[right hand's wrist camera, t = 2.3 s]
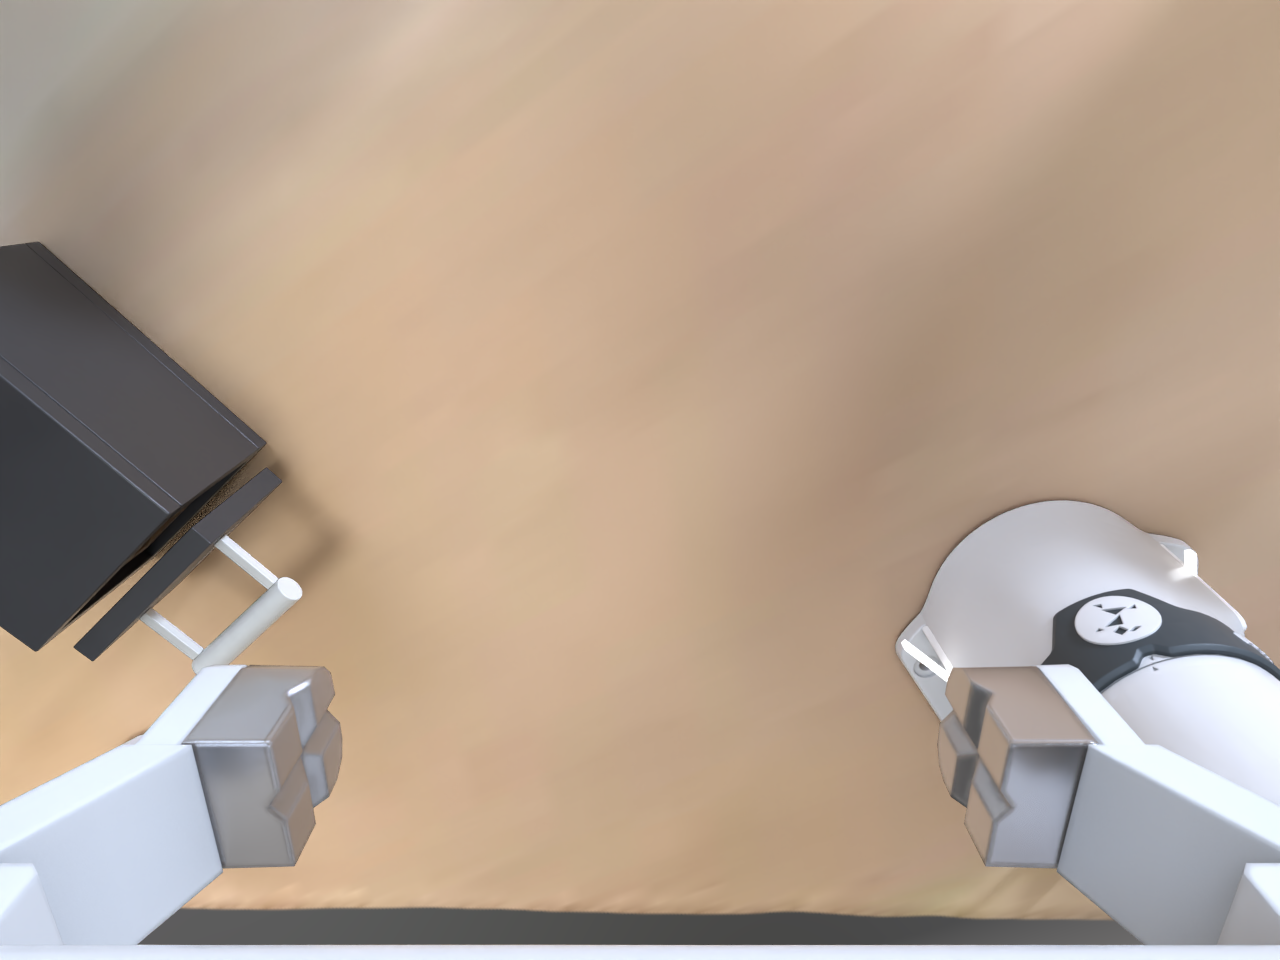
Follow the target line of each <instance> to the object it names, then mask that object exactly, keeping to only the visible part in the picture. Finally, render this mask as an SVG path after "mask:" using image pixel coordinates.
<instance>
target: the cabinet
mask: <svg viewBox="0 0 1280 960" xmlns="http://www.w3.org/2000/svg"><path fill="white" fill-rule="evenodd" d="M265 444H266V442H265V441H264V440H263V439H262V438H260V437H259V436H258V435H257V434H256V433H255V432H254V431H252V430H251V429H250V428H249V427H248V426H247V425H246V424H245V423H243V422H242V421H241V420H240V419H239V418H238V417H237V416H235V415H234V414H233V413H232V412H231V411H230V410H229V409H228V408H226V407H225V406H224V405H223V404H222V403H221V402H220V401H218V400H217V399H216V398H215V397H214V396H213V395H212V394H211V393H209V392H208V391H207V390H206V389H205V388H204V387H203V386H201V385H200V384H199V383H198V382H197V381H196V380H195V379H194V378H192V377H191V376H190V375H189V374H188V373H187V372H186V371H184V370H183V369H182V368H181V367H180V366H179V365H178V364H177V363H175V362H174V361H173V360H172V359H171V358H170V357H169V356H167V355H166V354H165V353H164V352H163V351H162V350H161V349H160V348H158V347H157V346H156V345H155V344H154V343H153V342H152V341H150V340H149V339H148V338H147V337H146V336H145V335H144V334H143V333H141V332H140V331H139V330H138V329H137V328H136V327H135V326H133V325H132V324H131V323H130V322H129V321H128V320H127V319H126V318H124V317H123V316H122V315H121V314H120V313H119V312H118V311H116V310H115V309H114V308H113V307H112V306H111V305H110V304H109V303H107V302H106V301H105V300H104V299H103V298H102V297H101V296H99V295H98V294H97V293H96V292H95V291H94V290H93V289H92V288H90V287H89V286H88V285H87V284H86V283H85V282H84V281H82V280H81V279H80V278H79V277H78V276H77V275H76V274H75V273H73V272H72V271H71V270H70V269H69V268H68V267H67V266H65V265H64V264H63V263H62V262H61V261H60V260H59V259H58V258H56V257H55V256H54V255H53V254H52V253H51V252H50V251H48V250H47V249H46V248H45V247H44V246H43V245H42V244H41V243H39V242H33V243H25V244H17V245H9V246H1V247H0V627H2V628H3V629H5V630H6V631H7V632H9V633H10V634H12V635H13V636H14V637H16V638H17V639H18V640H20V641H21V642H23V643H24V644H25V645H27V646H28V647H29V648H31V649H32V650H34V651H38V650H40V649H41V648H42V647H43V646H45V645H46V644H47V643H48V642H50V641H51V640H52V639H53V638H55V637H56V636H57V635H58V634H60V633H61V632H62V631H63V630H65V629H66V628H67V627H68V626H70V625H71V624H72V623H73V622H75V621H76V620H77V619H78V618H79V617H81V616H82V615H83V614H84V613H86V612H87V611H88V610H89V609H91V608H92V607H93V606H94V605H96V604H97V603H98V602H99V601H101V600H102V599H103V598H104V597H106V596H107V595H108V594H109V593H111V592H112V591H113V590H114V589H116V588H117V587H118V586H119V585H121V584H122V583H123V582H124V581H126V580H127V579H128V578H129V577H131V576H132V575H133V574H134V573H135V572H137V571H138V570H139V569H140V568H142V567H143V566H144V565H145V564H147V563H148V562H149V561H150V560H152V559H153V558H154V557H155V556H156V555H157V554H158V553H159V552H160V551H161V550H162V549H163V548H164V547H165V546H166V545H167V544H168V543H169V542H170V541H171V540H172V539H173V538H174V537H175V536H176V535H177V534H178V533H179V532H180V531H181V530H182V529H183V528H184V527H185V526H186V525H187V524H188V522H189V521H190V520H191V519H192V518H193V517H194V516H195V515H196V514H197V513H198V512H199V511H200V510H201V509H202V508H203V507H204V506H205V505H206V504H207V503H208V502H209V501H210V500H211V499H212V498H213V497H214V496H215V495H216V494H217V493H218V492H219V491H220V490H221V489H222V488H223V487H224V486H225V485H226V484H227V483H228V482H229V481H230V480H231V479H232V478H233V477H234V476H235V475H236V474H237V473H238V472H239V471H240V470H241V469H242V468H243V467H244V466H245V465H246V464H247V463H248V462H249V461H250V460H251V459H252V458H253V457H254V456H255V455H256V454H257V453H258V452H259V450H260V449H261V448H262V447H263V446H264V445H265ZM188 504H189V505H188ZM187 505H188V506H187ZM186 506H187V508H186V509H185V510H184V511H183V512H182V513H181V514H180V515H179V516H178V517H177V518H176V519H175V520H174V521H173V522H172V523H171V524H170V525H169V526H168V527H167V528H166V529H165V530H164V531H163V532H162V533H161V534H160V535H159V536H158V537H157V538H156V539H155V540H154V541H153V542H152V543H151V544H150V545H149V546H148V547H147V548H146V549H145V550H144V551H142V552H141V553H140V554H138V555H137V556H136V557H134V558H133V559H132V560H131V561H129V562H128V560H129V559H130V558H131V557H132V556H133V555H134V554H135V553H136V552H137V551H138V550H139V549H140V548H141V547H142V546H143V545H144V544H145V543H146V542H147V541H148V540H149V539H150V538H151V537H152V536H153V535H154V534H155V533H156V532H157V531H158V530H159V529H160V528H161V527H162V526H163V525H164V524H165V523H166V521H167V520H168V519H169V518H171V517H172V516H174V515H175V514H176V513H178V512H179V511H180V510H182V509H183V508H184V507H186ZM127 562H128V563H127ZM126 563H127V564H126Z"/></svg>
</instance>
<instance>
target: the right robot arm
mask: <svg viewBox="0 0 1280 960" xmlns="http://www.w3.org/2000/svg"><path fill="white" fill-rule="evenodd" d="M1246 629H1247V625H1246V623H1245V621H1244V619H1243V617H1242V616H1241V615H1240V614H1239V613H1238V612H1237V611H1236V610H1235V609H1234V608H1233V607H1232V606H1231V605H1229V604H1228V603H1227V602H1226V601H1225V600H1224V599H1223V598H1222V597H1221V596H1220V595H1219V594H1217V593H1216V592H1215V591H1214V590H1213V589H1212V588H1211V587H1210V586H1209V585H1208V584H1207V583H1205V582H1204V581H1203V580H1202V579H1201V578H1200V577H1199V576H1198V556H1197V554H1196V552H1195V551H1194V550H1193V549H1192V548H1191V547H1190V546H1189V545H1187V544H1186V543H1185V542H1184V541H1182V540H1179V539H1176V538H1172V537H1168V536H1163V535H1157V534H1150V533H1146V532H1144V531H1142V530H1140V529H1138V528H1137V527H1135V526H1134V525H1132V524H1131V523H1129V522H1128V521H1127V520H1125V519H1124V518H1122V517H1121V516H1119V515H1118V514H1116V513H1114V512H1112V511H1110V510H1108V509H1105V508H1103V507H1100V506H1097V505H1094V504H1090V503H1085V502H1079V501H1069V500H1056V501H1045V502H1038V503H1033V504H1029V505H1025V506H1021V507H1018V508H1015V509H1013V510H1010V511H1008V512H1005V513H1003V514H1001V515H999V516H997V517H995V518H993V519H991V520H989V521H988V522H986V523H984V524H983V525H981V526H980V527H978V528H977V529H976V530H974V531H973V532H972V533H970V534H969V535H968V536H967V537H966V538H965V539H964V540H962V541H961V542H960V543H959V544H958V545H957V546H956V548H955V549H954V550H953V551H952V552H951V553H950V554H949V556H948V557H947V558H946V560H945V561H944V563H943V564H942V566H941V567H940V569H939V571H938V573H937V575H936V576H935V579H934V581H933V583H932V586H931V589H930V591H929V594H928V597H927V600H926V602H925V604H924V607H923V608H922V610H921V612H920V613H919V614H918V615H917V616H916V618H915V619H914V620H913V621H912V622H911V623H910V624H909V625H908V626H907V627H906V629H905V630H904V631H903V632H902V633H901V635H900V636H899V638H898V640H897V642H896V645H895V650H896V654H897V656H898V657H899V659H900V660H901V662H902V663H903V665H904V666H905V668H906V670H907V671H908V673H909V674H910V676H911V677H912V679H913V680H914V682H915V683H916V685H917V686H918V688H919V689H920V691H921V692H922V694H923V695H924V697H925V698H926V700H927V701H928V703H929V704H930V706H931V707H932V709H933V710H934V712H935V714H936V715H937V717H938V718H939V720H940V721H941V722H940V727H939V735H938V743H937V746H938V758H939V767H940V770H941V774H942V777H943V781H944V783H945V785H946V787H947V790H948V792H949V794H950V796H951V797H952V798H953V799H955V800H956V801H958V802H959V803H960V804H962V805H963V806H965V807H966V808H967V810H966V816H965V822H964V824H965V826H966V828H967V830H968V832H969V834H970V836H971V838H972V840H973V842H974V844H975V846H976V848H977V850H978V852H979V854H980V856H981V858H982V860H983V862H984V864H985V866H991V867H1027V868H1057V872H1058V873H1059V874H1060V875H1061V876H1062V877H1064V878H1065V879H1066V880H1067V881H1068V882H1070V883H1071V884H1072V885H1073V886H1074V887H1076V888H1077V889H1078V890H1079V891H1080V892H1081V893H1083V894H1084V895H1085V896H1086V897H1087V898H1089V899H1090V900H1091V901H1092V902H1093V903H1095V904H1096V905H1097V906H1098V907H1099V908H1100V909H1102V910H1103V911H1104V912H1105V913H1106V914H1108V915H1109V916H1110V917H1111V918H1112V919H1114V920H1115V921H1116V922H1117V923H1118V924H1120V925H1121V926H1122V927H1123V928H1124V929H1125V930H1127V931H1128V932H1129V933H1130V934H1131V935H1133V936H1134V937H1135V938H1136V939H1137V940H1139V941H1140V942H1141V943H1142V944H1143V945H137V944H138V943H139V942H140V941H142V940H143V939H144V938H145V937H146V936H148V935H149V934H150V933H151V932H152V931H154V930H155V929H156V928H157V927H158V926H160V925H161V924H162V923H163V922H164V921H165V920H167V919H168V918H169V917H170V916H171V915H173V914H174V913H175V912H176V911H177V910H179V909H180V908H181V907H182V906H183V905H185V904H186V903H187V902H188V901H189V900H191V899H192V898H193V897H194V896H195V895H196V894H198V893H199V892H200V891H201V890H202V889H204V888H205V887H206V886H207V885H208V884H210V883H211V882H212V881H213V880H214V879H216V878H217V877H218V876H219V875H220V874H222V873H223V869H222V868H252V867H286V866H295V864H296V862H297V860H298V858H299V856H300V854H301V852H302V850H303V848H304V846H305V844H306V842H307V840H308V838H309V836H310V834H311V832H312V830H313V828H314V826H315V824H316V822H315V816H314V810H313V808H314V807H315V806H317V805H318V804H319V803H321V802H322V801H324V800H325V799H327V798H328V797H329V796H330V794H331V792H332V789H333V787H334V785H335V783H336V781H337V778H338V773H339V769H340V764H341V760H342V733H341V727H340V722H339V721H338V720H337V719H336V718H335V717H334V716H333V715H332V714H331V713H330V712H329V711H328V710H327V708H328V706H329V704H330V703H331V701H332V699H333V697H334V695H335V691H334V686H333V681H332V677H331V673H330V672H329V671H328V670H327V669H326V668H325V667H322V666H274V665H249V666H247V665H211V666H207V667H204V668H202V669H201V670H200V671H199V672H198V673H197V675H196V676H195V677H194V678H193V679H192V680H191V681H190V682H189V684H188V685H187V686H186V687H185V688H184V689H183V690H182V691H181V693H180V694H179V695H178V696H177V697H176V698H175V699H174V701H173V702H172V703H171V704H170V705H169V706H168V707H167V708H166V710H165V711H164V712H163V713H162V714H161V715H160V716H159V718H158V719H157V720H156V721H155V722H154V723H153V724H152V725H151V727H150V728H149V729H148V730H147V731H146V732H145V733H144V734H143V736H142V737H141V738H140V739H139V740H138V741H137V742H136V744H135V745H120V746H118V747H116V748H114V749H112V750H110V751H108V752H106V753H104V754H102V755H100V756H98V757H96V758H94V759H92V760H90V761H88V762H86V763H84V764H82V765H80V766H78V767H76V768H74V769H72V770H70V771H68V772H66V773H64V774H62V775H60V776H58V777H56V778H54V779H52V780H50V781H48V782H46V783H44V784H42V785H40V786H38V787H36V788H34V789H32V790H30V791H28V792H26V793H24V794H22V795H20V796H18V797H16V798H14V799H12V800H10V801H8V802H6V803H4V804H2V805H0V960H1280V669H1278V668H1277V667H1276V666H1275V665H1274V663H1273V662H1272V661H1271V659H1270V658H1269V657H1268V656H1267V655H1266V654H1265V653H1264V652H1262V650H1260V649H1259V648H1258V647H1257V646H1255V645H1254V644H1253V643H1252V642H1251V641H1249V640H1248V639H1247V638H1245V635H1244V631H1245V630H1246ZM920 662H922V663H923V664H920Z"/></svg>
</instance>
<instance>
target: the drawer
mask: <svg viewBox="0 0 1280 960" xmlns="http://www.w3.org/2000/svg"><path fill="white" fill-rule="evenodd" d="M280 483H282V480H280V479H279V478H278V477H277V476H276V475H275V474H274V473H272V472H271V471H270V470H269V469H268V468H265V469H264V470H263V471H261V472H260V473H259V474H258V475H256V476H255V477H254V478H253V479H251V480H250V481H249V482H248V483H246V484H245V485H244V486H243V487H241V488H240V489H239V490H238V491H236V492H235V493H234V494H233V495H231V496H230V497H229V498H228V499H226V500H225V501H224V502H223V503H221V504H220V505H219V506H218V507H216V508H215V509H214V510H213V511H212V512H210V513H209V514H208V515H207V516H205V517H204V518H203V519H202V520H200V521H199V522H198V523H197V524H195V525H194V526H193V527H192V528H191V529H190V530H189V531H188V532H187V533H186V534H185V535H184V536H183V537H182V538H181V539H180V540H179V541H178V542H177V543H176V544H175V545H174V546H173V547H172V548H171V549H170V550H169V551H168V552H167V553H166V554H165V555H164V556H163V557H162V558H161V559H160V560H159V561H158V562H157V563H156V564H155V565H154V566H153V567H152V568H151V569H150V570H149V571H148V572H147V573H146V574H145V575H144V576H143V577H142V578H141V579H140V580H139V581H138V582H137V583H136V584H135V585H134V586H133V587H132V588H131V589H130V590H129V591H128V592H127V593H126V594H125V595H124V596H123V597H122V598H121V599H120V600H119V601H118V602H117V603H116V604H115V605H114V606H113V607H112V608H111V609H110V610H109V611H108V612H107V613H106V614H105V615H104V616H103V617H102V618H101V619H100V620H99V621H98V622H97V623H96V624H95V626H94V627H93V628H92V629H91V630H90V631H89V632H88V633H87V634H86V635H85V636H84V637H83V638H82V639H81V640H80V641H79V642H78V643H77V644H76V645H75V646H74V648H75V649H76V650H78V651H79V652H80V653H82V654H83V655H84V656H86V657H87V658H88V659H90V660H91V661H94V660H95V659H96V658H97V657H98V656H100V655H101V654H102V653H103V652H104V651H105V650H106V649H107V648H108V647H110V646H111V645H112V644H113V643H114V642H115V641H116V640H117V639H118V638H120V637H121V636H122V635H123V634H124V633H125V632H126V631H127V630H128V629H129V628H131V627H132V626H133V625H134V624H135V623H136V622H137V621H138V620H139V619H140V620H141V621H142V622H144V623H145V624H146V625H148V626H149V627H150V628H152V629H153V630H154V631H155V632H157V633H158V634H159V635H161V636H162V637H163V638H165V639H166V640H167V641H168V642H170V643H171V644H172V645H174V646H175V647H176V648H178V649H179V650H180V651H182V652H183V653H184V654H185V655H187V656H188V657H189V658H191V659H192V660H193V662H192V668H193V671H194V672H195V674H196V675H197V673H198V672H199V671H200V670H201V669H202V668H204V667H207V666H211V665H229V664H230V663H231V662H232V661H233V660H234V659H235V658H236V657H237V656H239V655H240V654H241V653H242V652H243V651H244V650H245V649H246V648H247V647H248V646H249V645H250V644H252V643H253V642H254V641H255V640H256V639H257V638H258V637H259V636H260V635H261V634H262V633H263V632H265V631H266V630H267V629H268V628H269V627H270V626H271V625H272V624H273V623H274V622H275V621H276V620H278V619H279V618H280V617H281V616H282V615H283V614H284V613H285V612H286V611H287V610H288V609H289V608H291V607H292V606H293V605H294V604H295V603H296V602H297V601H298V600H299V599H300V598H301V597H302V589H301V587H300V586H299V584H298V583H297V582H296V581H294V580H293V579H291V578H288V577H282V578H280V579H278V578H277V577H276V576H275V575H274V574H273V573H271V572H270V571H269V570H268V569H267V568H265V567H264V566H263V565H262V564H261V563H259V562H258V561H257V560H256V559H255V558H253V557H252V556H251V555H250V554H248V553H247V552H246V551H245V550H244V549H242V548H241V547H240V546H239V545H238V544H236V543H235V542H234V541H233V540H232V539H230V538H229V537H228V535H229V534H230V533H231V532H232V531H233V530H234V529H235V528H236V527H237V526H238V525H239V524H240V523H241V522H242V521H243V520H244V519H245V518H246V517H247V516H248V515H249V514H250V513H251V512H252V511H253V510H254V509H255V508H256V507H257V506H258V505H259V504H260V503H261V502H262V501H263V500H264V499H265V498H266V497H267V496H268V495H269V494H270V493H271V492H272V491H273V490H274V489H275V488H276V487H277V486H278V485H279V484H280ZM188 505H189V504H188ZM188 505H187V506H188ZM187 506H186V507H184V508H183V509H182V510H180V511H179V512H178V513H176V514H175V515H174V516H172V517H171V518H169V519H168V520H167V521H166V523H165V524H164V525H163V526H162V527H161V528H160V529H159V530H158V531H157V532H156V533H155V534H154V535H153V536H152V537H151V538H150V539H149V540H148V541H147V542H146V543H145V544H144V545H143V546H142V547H141V548H140V549H139V550H138V551H137V552H136V553H135V554H134V555H133V556H132V557H131V558H130V559H129V560H128V562H129V561H131V560H132V559H133V558H134V557H136V556H137V555H138V554H140V553H141V552H142V551H144V550H145V549H146V548H147V547H148V546H149V545H150V544H151V543H152V542H153V541H154V540H155V539H156V538H157V537H158V536H159V535H160V534H161V533H162V532H163V531H164V530H165V529H166V528H167V527H168V526H169V525H170V524H171V523H172V522H173V521H174V520H175V519H176V518H177V517H178V516H179V515H180V514H181V513H182V512H183V511H184V510H185V509H186V508H187ZM215 548H218V549H219V550H220V551H221V552H223V553H224V554H225V555H226V556H227V557H229V558H230V559H231V560H232V561H234V562H235V563H236V564H237V565H238V566H240V567H241V568H242V569H243V570H244V571H246V572H247V573H248V574H249V575H251V576H252V577H253V578H254V579H255V580H257V581H258V582H259V583H260V584H262V585H263V586H264V587H265V588H266V589H268V590H267V591H266V592H265V593H264V594H263V595H261V596H260V597H259V598H258V599H257V600H256V601H255V602H254V603H253V604H252V605H251V606H250V607H249V608H248V609H247V610H246V611H244V612H243V613H242V614H241V615H240V616H239V617H238V618H237V619H236V620H235V621H234V622H233V623H232V624H231V625H230V626H229V627H227V628H226V629H225V630H224V631H223V632H222V633H221V634H220V635H219V636H218V637H217V638H216V639H215V640H214V641H213V642H212V643H211V644H209V645H208V646H207V647H206V648H205V649H204V648H203V647H201V646H200V645H199V644H197V643H196V642H195V641H194V640H192V639H191V638H190V637H188V636H187V635H186V634H184V633H183V632H182V631H181V630H179V629H178V628H177V627H175V626H174V625H173V624H172V623H170V622H169V621H168V620H166V619H165V618H164V617H163V616H161V615H160V614H159V613H157V612H156V611H155V610H154V609H152V608H153V607H154V606H155V605H156V604H157V603H158V602H159V601H160V600H162V599H163V598H164V597H165V596H166V595H167V594H168V593H169V592H170V591H172V590H173V589H174V588H175V587H176V586H177V585H178V584H179V583H180V582H181V581H182V580H183V579H184V578H185V577H186V576H187V575H188V574H189V573H190V572H191V571H192V570H193V569H194V568H195V567H196V566H197V565H198V564H200V563H201V562H202V561H203V560H204V559H205V558H206V557H207V556H208V555H209V554H210V553H211V552H212V551H213V550H214V549H215ZM128 562H127V563H128ZM127 563H126V564H127Z"/></svg>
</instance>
